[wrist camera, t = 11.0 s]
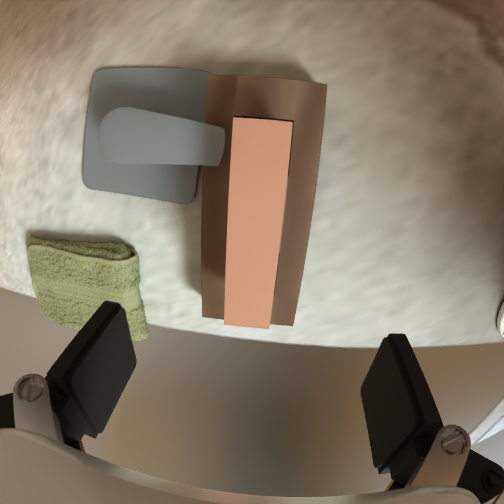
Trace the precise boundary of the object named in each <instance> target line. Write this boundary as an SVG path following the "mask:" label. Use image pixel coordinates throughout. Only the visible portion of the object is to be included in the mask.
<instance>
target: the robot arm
mask: <svg viewBox="0 0 504 504" xmlns="http://www.w3.org/2000/svg"><path fill="white" fill-rule="evenodd" d="M497 329H498V332H499V333H500V335H501V336H502V337H503V338H504V302H503V304H502V306H501V308H500V311H499V315H498V318H497ZM135 366H136V356H135V352H134V348H133V343H132V339H131V335H130V330H129V325H128V321H127V316H126V311H125V309H124V308H122V306H121V304H120V303H117V302H112V301H104V302H103V303H102V304H101V306H100V307H99V308H98V309H97V310H96V312H95V313H94V314H93V315H92V316H91V318H90V319H89V320H88V321H87V322H86V324H85V325H84V326H83V327H82V329H81V330H80V331H79V332H78V334H77V335H76V336H75V337H74V339H73V340H72V341H71V342H70V344H69V345H68V346H67V347H66V349H65V350H64V352H63V353H62V354H61V355H60V356H59V358H58V359H57V360H56V362H55V363H54V364H53V366H52V367H51V368H50V370H49V371H48V372H47V376H46V377H45V378H44V377H42V376H41V375H39V374H27V375H25V376H23V377H21V378H20V379H19V380H18V381H17V382H16V384H15V386H14V389H13V393H10V394H6V395H3V396H0V504H504V470H503V468H502V467H501V466H499V465H498V464H496V463H494V462H493V461H491V460H489V459H487V458H485V457H483V456H482V455H480V454H478V453H476V452H474V451H473V450H471V449H470V447H471V441H470V437H469V435H468V433H467V432H466V431H465V430H464V429H463V428H461V427H460V426H457V425H447V426H443V423H442V420H441V417H440V415H439V412H438V409H437V407H436V404H435V401H434V399H433V396H432V394H431V391H430V389H429V387H428V384H427V382H426V379H425V377H424V374H423V372H422V370H421V368H420V365H419V363H418V361H417V359H416V356H415V354H414V352H413V350H412V347H411V345H410V343H409V341H408V339H407V337H406V335H405V334H389V335H388V336H387V337H385V338H384V339H383V340H382V343H381V345H380V347H379V350H378V352H377V354H376V356H375V359H374V361H373V363H372V365H371V367H370V369H369V372H368V374H367V376H366V378H365V380H364V382H363V384H362V386H361V397H362V402H363V408H364V412H365V418H366V423H367V429H368V434H369V440H370V446H371V452H372V457H373V464H374V467H375V468H378V472H379V474H385V473H391V479H392V480H391V481H390V483H389V484H388V486H387V487H386V489H385V490H384V492H376V493H368V494H359V495H348V496H334V497H271V496H257V495H245V494H237V493H229V492H222V491H216V490H210V489H204V488H198V487H193V486H188V485H184V484H180V483H175V482H171V481H167V480H163V479H159V478H156V477H152V476H149V475H145V474H142V473H139V472H136V471H132V470H129V469H126V468H124V467H121V466H118V465H115V464H112V463H109V462H107V461H104V460H102V459H99V458H96V457H94V456H91V455H89V454H87V453H85V450H84V447H83V443H82V440H81V439H82V437H83V435H84V434H86V435H89V436H90V437H93V438H96V437H97V435H98V433H101V432H103V430H104V428H105V426H106V424H107V422H108V420H109V418H110V416H111V414H112V412H113V410H114V408H115V406H116V404H117V402H118V400H119V398H120V396H121V394H122V392H123V390H124V388H125V386H126V384H127V382H128V380H129V379H130V377H131V375H132V373H133V371H134V369H135Z"/></svg>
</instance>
